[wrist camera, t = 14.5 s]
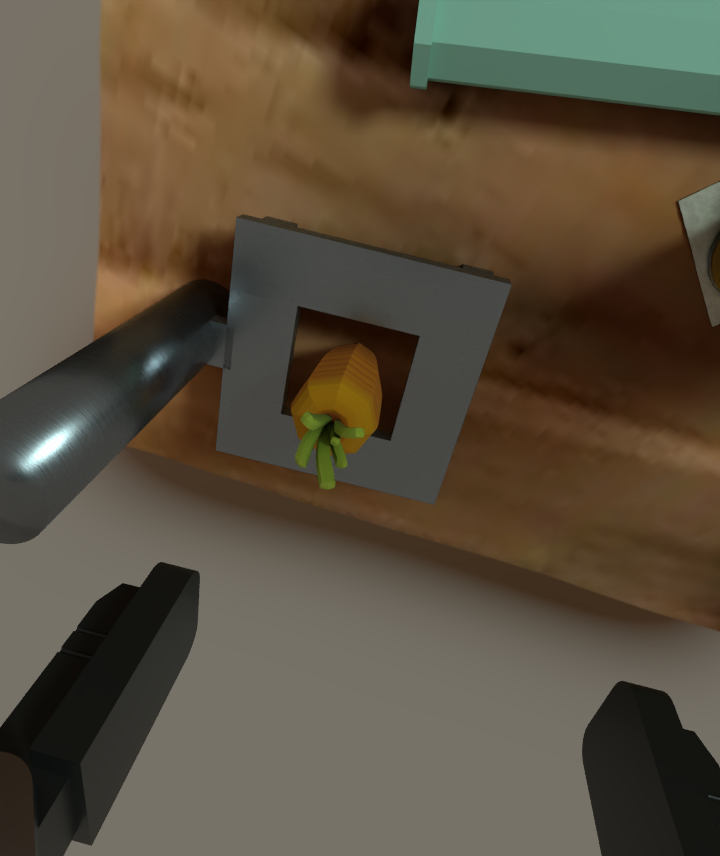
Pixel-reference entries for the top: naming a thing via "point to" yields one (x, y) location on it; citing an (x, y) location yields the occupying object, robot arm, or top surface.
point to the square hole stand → (256, 369)
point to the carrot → (337, 409)
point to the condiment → (705, 243)
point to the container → (575, 49)
